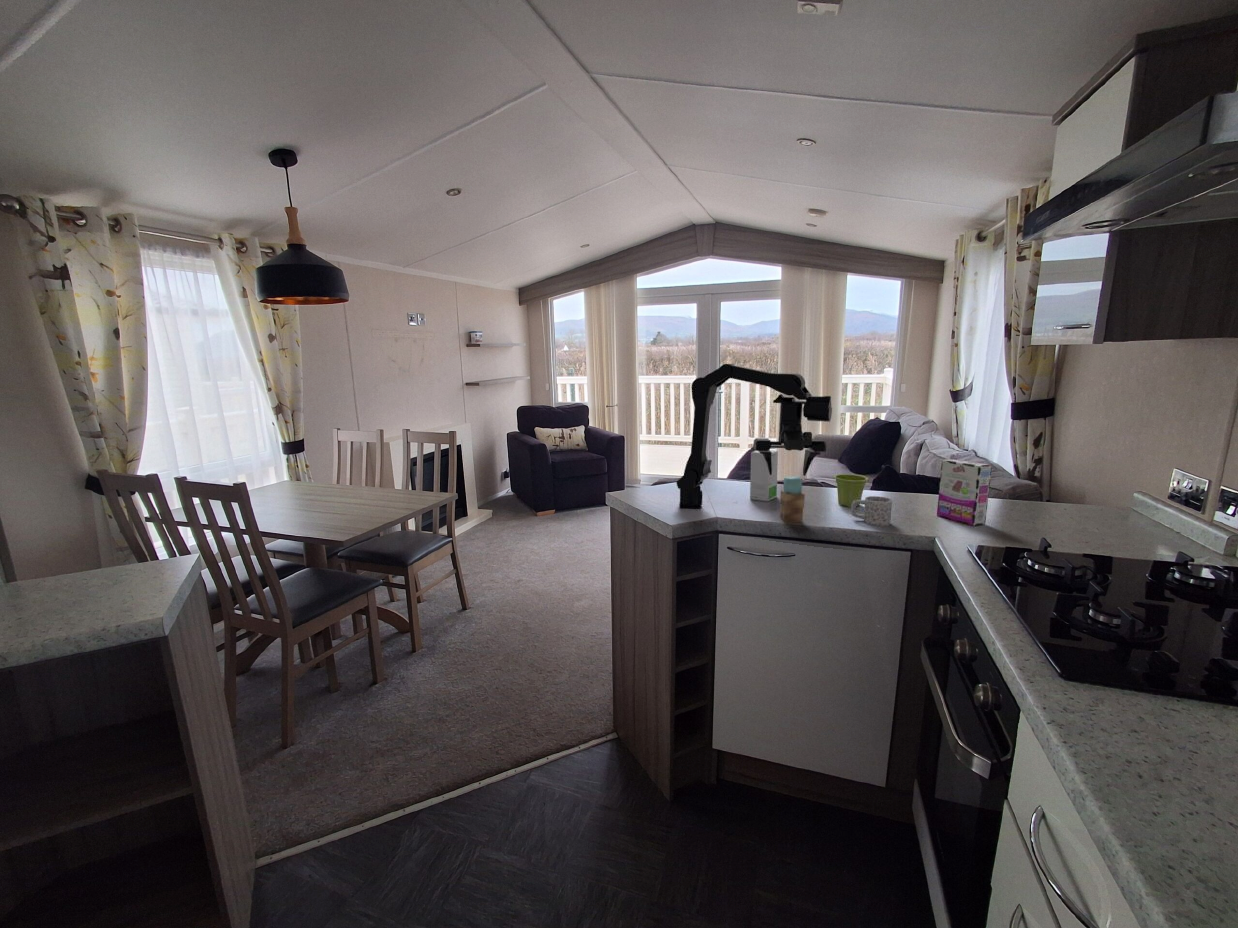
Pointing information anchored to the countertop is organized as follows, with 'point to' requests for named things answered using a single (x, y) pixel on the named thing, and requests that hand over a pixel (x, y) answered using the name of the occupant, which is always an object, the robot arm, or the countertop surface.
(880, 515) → the mug
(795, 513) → the tower base
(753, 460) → the skincare box
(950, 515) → the candy bar box
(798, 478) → the teal block
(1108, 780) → the countertop surface
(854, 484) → the plant pot
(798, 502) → the tan wooden block
